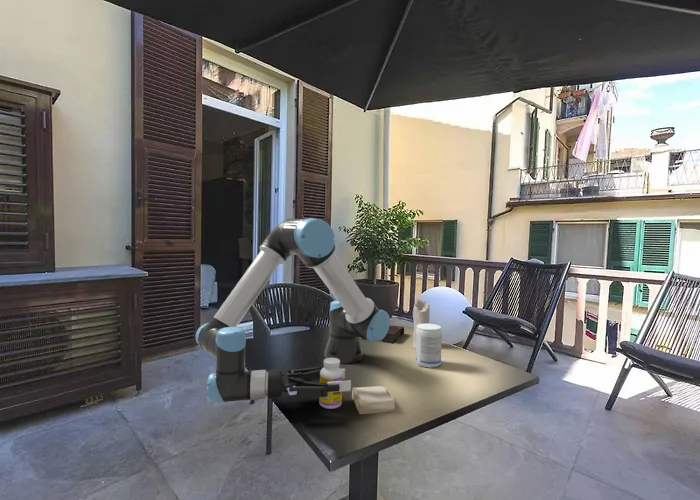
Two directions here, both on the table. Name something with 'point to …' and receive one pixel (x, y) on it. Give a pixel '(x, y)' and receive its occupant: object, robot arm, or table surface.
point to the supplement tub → (428, 345)
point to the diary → (393, 334)
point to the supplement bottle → (327, 375)
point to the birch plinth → (373, 399)
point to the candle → (420, 316)
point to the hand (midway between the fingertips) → (347, 379)
